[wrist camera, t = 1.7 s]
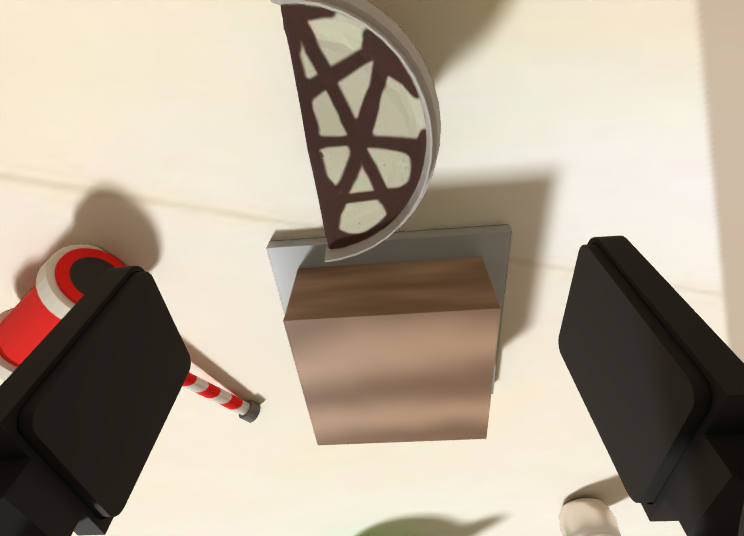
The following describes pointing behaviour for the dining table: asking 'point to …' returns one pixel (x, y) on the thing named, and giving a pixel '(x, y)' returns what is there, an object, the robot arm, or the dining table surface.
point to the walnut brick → (395, 349)
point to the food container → (362, 118)
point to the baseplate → (401, 255)
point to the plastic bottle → (587, 518)
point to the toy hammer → (56, 298)
